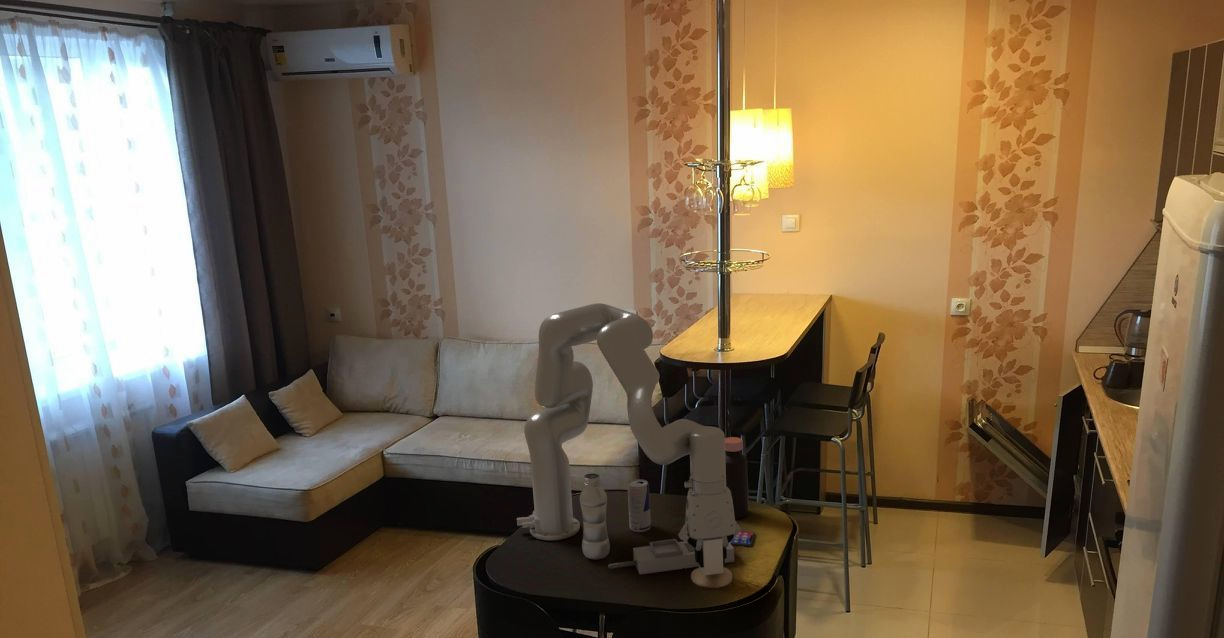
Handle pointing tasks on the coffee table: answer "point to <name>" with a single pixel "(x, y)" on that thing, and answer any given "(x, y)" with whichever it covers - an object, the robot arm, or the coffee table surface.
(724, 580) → the coaster
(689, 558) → the power strip
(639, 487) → the energy drink
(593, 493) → the plastic bottle
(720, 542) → the block
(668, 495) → the coffee table surface
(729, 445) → the vinegar
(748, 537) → the smartphone
